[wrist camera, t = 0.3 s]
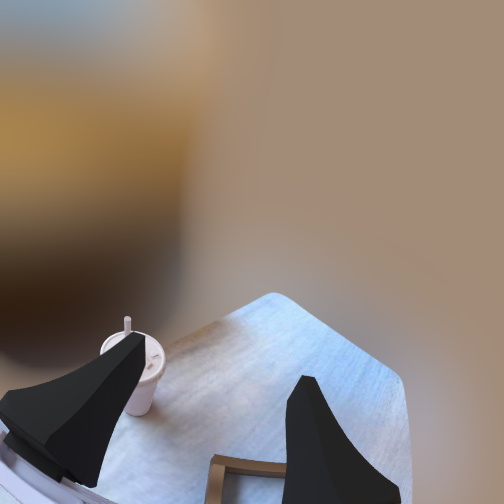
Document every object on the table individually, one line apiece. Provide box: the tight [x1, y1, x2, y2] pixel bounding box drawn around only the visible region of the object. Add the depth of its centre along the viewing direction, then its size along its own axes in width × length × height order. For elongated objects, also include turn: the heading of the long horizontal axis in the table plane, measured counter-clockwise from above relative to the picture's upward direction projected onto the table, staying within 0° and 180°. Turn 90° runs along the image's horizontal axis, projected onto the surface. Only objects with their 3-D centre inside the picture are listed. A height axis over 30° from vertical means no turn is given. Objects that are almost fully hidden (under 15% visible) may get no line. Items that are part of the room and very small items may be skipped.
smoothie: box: [100, 316, 166, 416], centre depth 23 cm, size 6×6×14 cm
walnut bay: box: [204, 454, 287, 504], centre depth 19 cm, size 8×18×2 cm, turn 87°
